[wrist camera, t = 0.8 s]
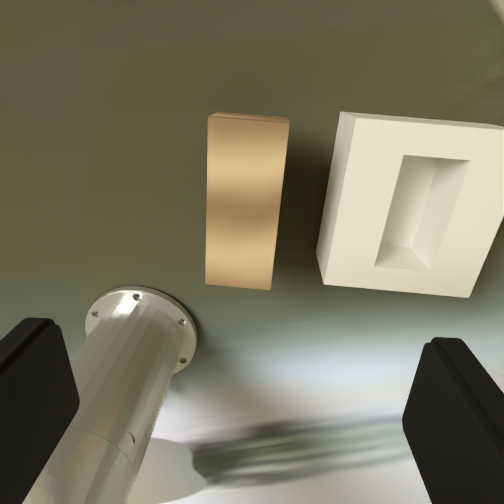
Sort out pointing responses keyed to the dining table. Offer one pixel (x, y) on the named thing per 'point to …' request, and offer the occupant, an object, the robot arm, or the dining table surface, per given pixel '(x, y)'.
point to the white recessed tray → (411, 204)
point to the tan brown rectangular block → (243, 197)
